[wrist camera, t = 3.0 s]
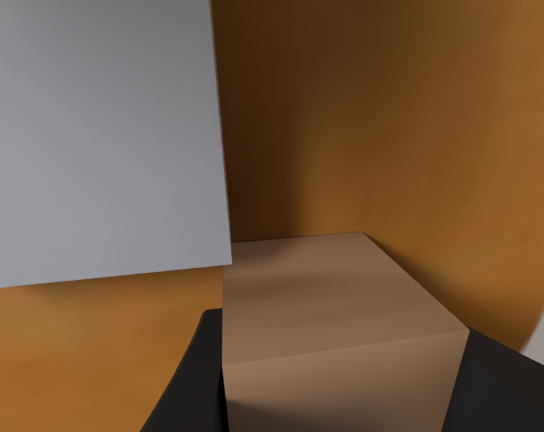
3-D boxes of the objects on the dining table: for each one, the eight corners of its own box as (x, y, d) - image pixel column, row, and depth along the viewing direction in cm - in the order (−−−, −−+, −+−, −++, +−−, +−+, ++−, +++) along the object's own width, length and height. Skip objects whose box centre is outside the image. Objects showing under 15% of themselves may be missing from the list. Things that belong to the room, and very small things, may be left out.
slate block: (230, 215, 9) (232, 264, 6) (-62, 238, 8) (-218, 309, 5) (199, -138, 6) (179, -342, 3) (-267, -175, 5) (-873, -522, 2)
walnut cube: (351, 338, 11) (427, 478, 7) (233, 354, 10) (239, 519, 6) (361, 231, 9) (469, 329, 5) (223, 243, 9) (222, 365, 5)
